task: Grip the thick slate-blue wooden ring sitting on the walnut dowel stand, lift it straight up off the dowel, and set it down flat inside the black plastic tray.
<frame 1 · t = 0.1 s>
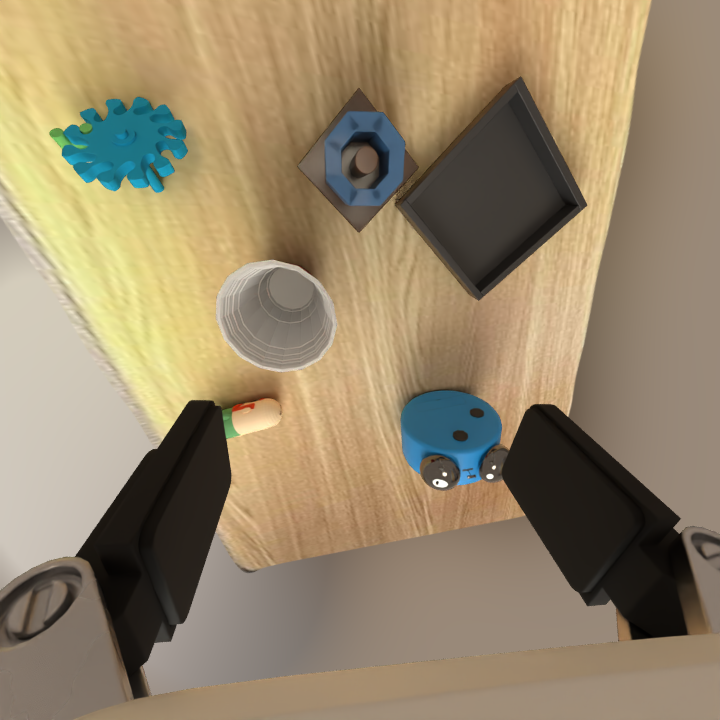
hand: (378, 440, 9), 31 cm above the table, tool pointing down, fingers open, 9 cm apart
toy figurine: (245, 411, 46), on the table
dowel stand: (358, 167, 33), on the table
alarm clock: (433, 403, 49), on the table
plastic cup: (290, 287, 38), on the table
ring: (359, 166, 32), point 1 cm above the table, touching dowel stand
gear: (144, 148, 30), on the table
tray: (484, 204, 36), on the table
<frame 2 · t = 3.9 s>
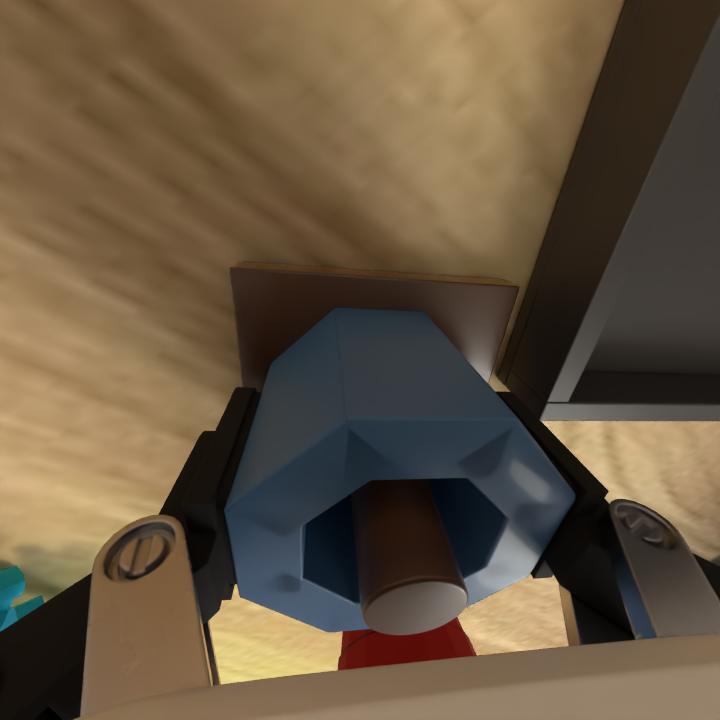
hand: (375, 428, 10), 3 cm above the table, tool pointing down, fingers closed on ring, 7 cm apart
dowel stand: (366, 385, 12), on the table
plastic cup: (389, 582, 20), on the table
ring: (369, 399, 11), point 1 cm above the table, touching dowel stand, gripper
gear: (51, 594, 17), on the table
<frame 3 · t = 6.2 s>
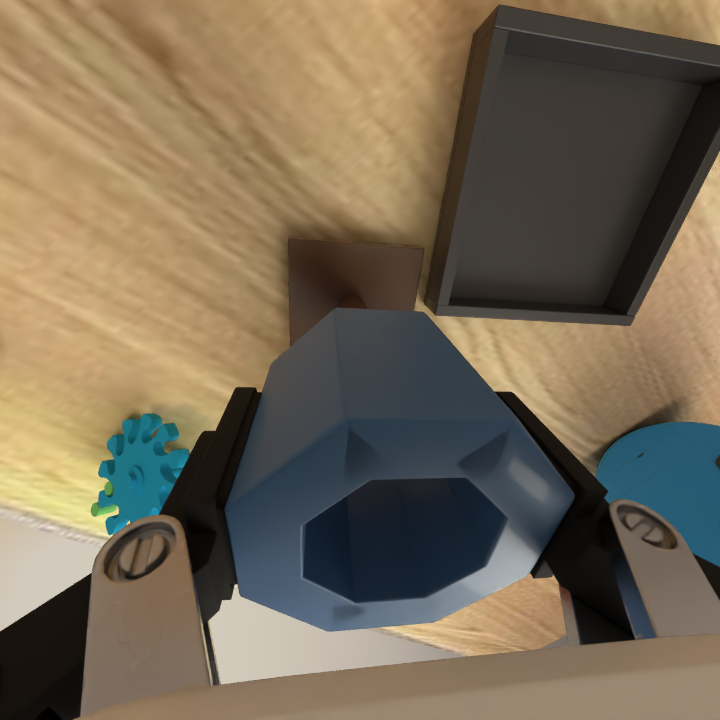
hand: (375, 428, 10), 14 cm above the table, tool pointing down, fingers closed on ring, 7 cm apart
dowel stand: (352, 305, 23), on the table
alarm clock: (627, 446, 33), on the table
ring: (369, 399, 11), point 13 cm above the table, touching gripper
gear: (162, 446, 27), on the table
tray: (550, 202, 21), on the table
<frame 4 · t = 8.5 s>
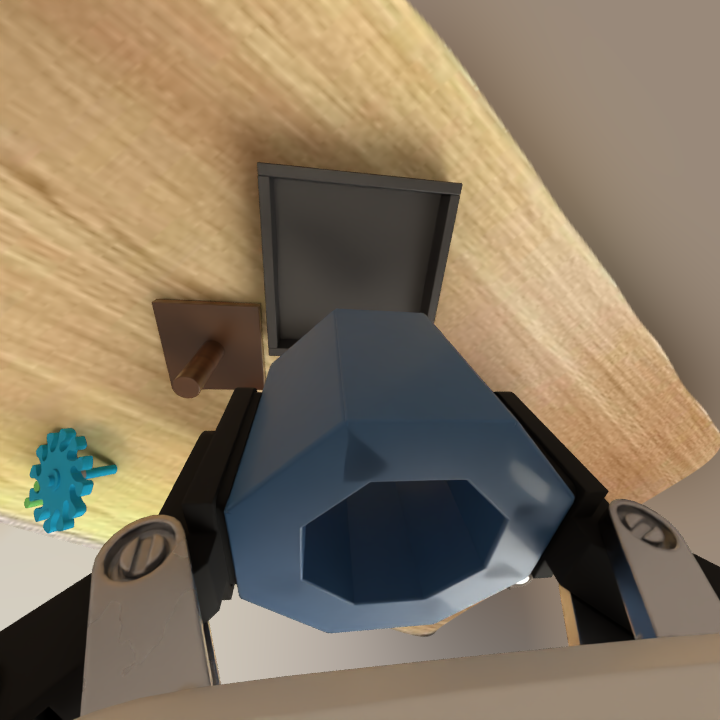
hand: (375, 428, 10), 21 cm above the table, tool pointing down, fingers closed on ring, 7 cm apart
dowel stand: (216, 345, 30), on the table
ring: (369, 400, 11), point 19 cm above the table, touching gripper
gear: (84, 452, 35), on the table
tray: (353, 270, 28), on the table
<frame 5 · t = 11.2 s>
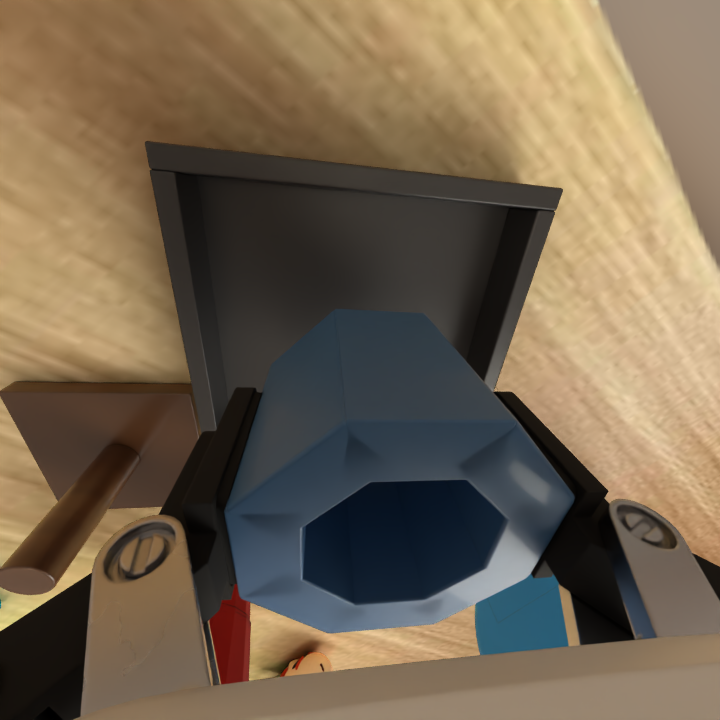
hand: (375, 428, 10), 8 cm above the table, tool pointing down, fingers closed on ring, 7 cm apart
toy figurine: (299, 661, 36), on the table
dowel stand: (130, 445, 19), on the table
alarm clock: (519, 549, 30), on the table
plastic cup: (215, 575, 26), on the table
ring: (369, 400, 11), point 6 cm above the table, touching gripper
tray: (351, 332, 17), on the table
when the fingers open (2 cm above the table, at t = 13.2 s): ring stays where it is, resting on tray.
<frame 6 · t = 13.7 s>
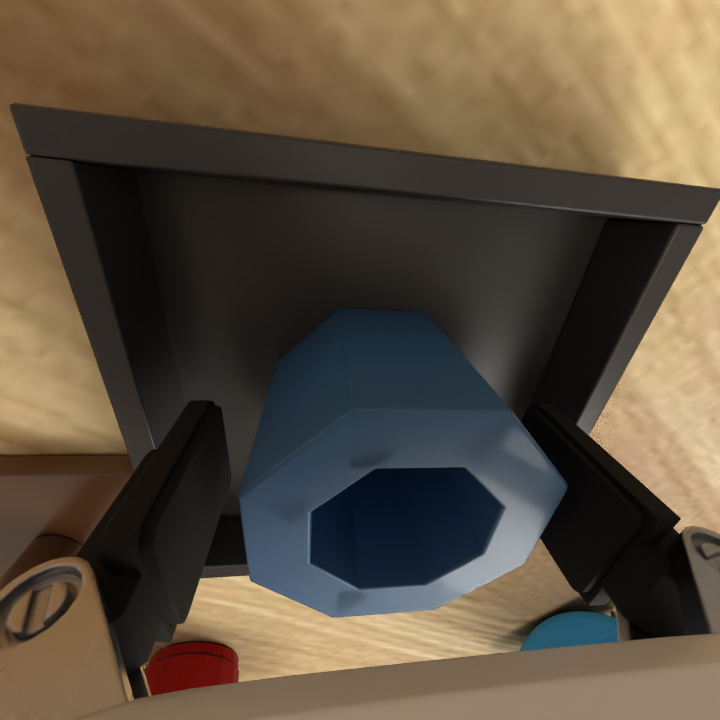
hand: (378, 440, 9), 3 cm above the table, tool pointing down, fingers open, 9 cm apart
dowel stand: (75, 527, 14), on the table
alarm clock: (561, 620, 25), on the table
plastic cup: (196, 657, 22), on the table
ring: (372, 397, 12), point 1 cm above the table, touching tray
tray: (368, 387, 12), on the table
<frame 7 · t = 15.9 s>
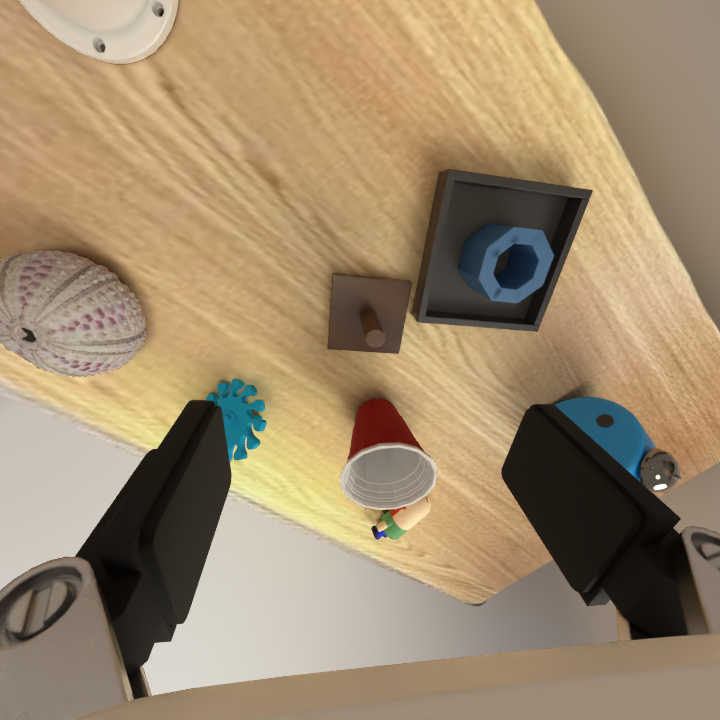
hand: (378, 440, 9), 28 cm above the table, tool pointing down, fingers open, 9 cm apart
toy figurine: (399, 504, 53), on the table
dowel stand: (367, 314, 37), on the table
alarm clock: (553, 416, 47), on the table
plastic cup: (375, 415, 44), on the table
ring: (490, 258, 35), point 1 cm above the table, touching tray
sea urchin shell: (91, 309, 34), on the table
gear: (237, 403, 41), on the table
tray: (487, 257, 35), on the table
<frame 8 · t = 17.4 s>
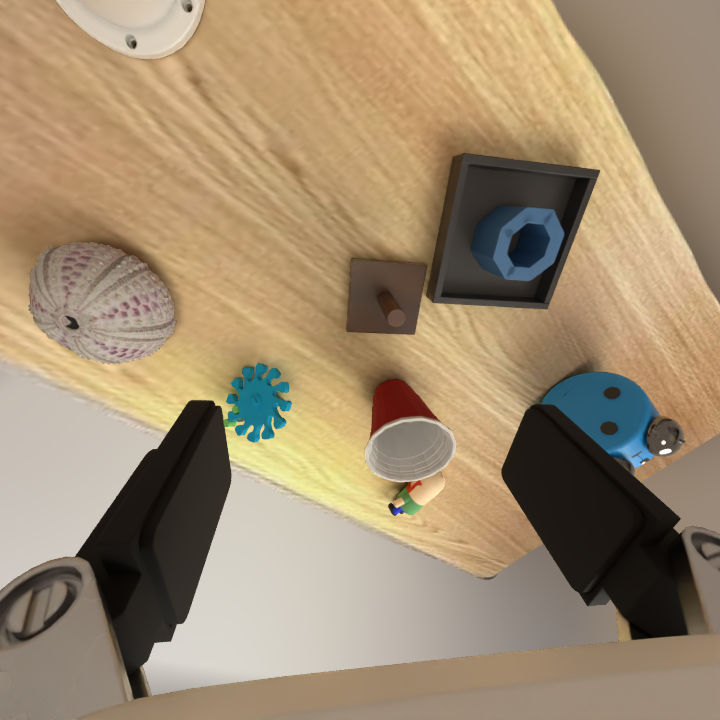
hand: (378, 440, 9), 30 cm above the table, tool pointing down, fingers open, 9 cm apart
toy figurine: (414, 482, 56), on the table
dowel stand: (384, 297, 39), on the table
alarm clock: (561, 392, 49), on the table
plastic cup: (391, 395, 46), on the table
ring: (501, 239, 36), point 1 cm above the table, touching tray
sea urchin shell: (121, 299, 36), on the table
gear: (260, 387, 43), on the table
tray: (498, 238, 37), on the table
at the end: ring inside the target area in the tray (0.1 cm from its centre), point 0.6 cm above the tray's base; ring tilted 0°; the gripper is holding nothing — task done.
